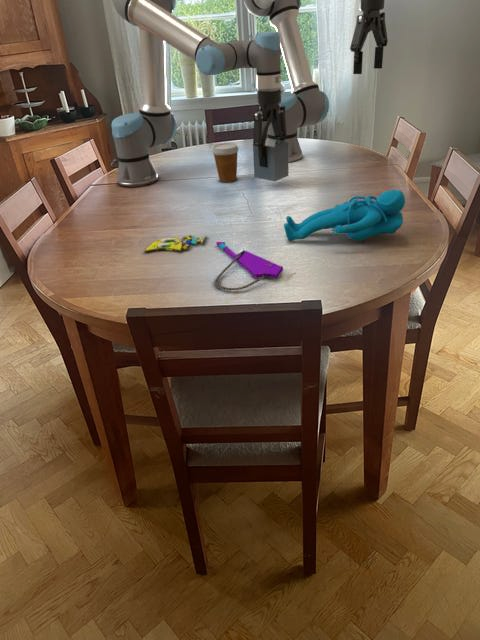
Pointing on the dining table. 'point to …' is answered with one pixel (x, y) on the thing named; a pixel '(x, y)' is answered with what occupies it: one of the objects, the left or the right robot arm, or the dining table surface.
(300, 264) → the dining table surface
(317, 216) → the toy
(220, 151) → the disposable coffee cup
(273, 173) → the block
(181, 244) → the toy
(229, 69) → the left robot arm
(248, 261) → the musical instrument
